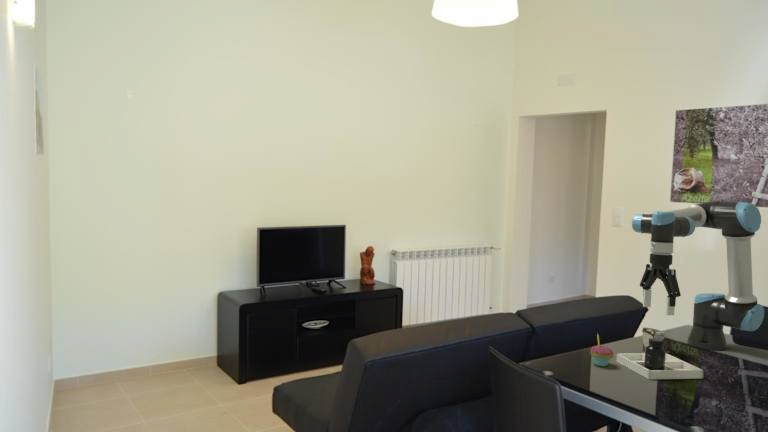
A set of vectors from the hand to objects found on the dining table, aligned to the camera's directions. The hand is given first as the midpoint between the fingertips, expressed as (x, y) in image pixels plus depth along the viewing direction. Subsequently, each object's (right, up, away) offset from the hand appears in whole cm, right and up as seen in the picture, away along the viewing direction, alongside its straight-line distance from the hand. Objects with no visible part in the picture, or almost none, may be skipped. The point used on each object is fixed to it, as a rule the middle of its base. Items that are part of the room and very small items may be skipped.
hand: (658, 310), depth 217 cm
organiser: (+2, -23, +4) cm, 23 cm away
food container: (+10, -22, +24) cm, 34 cm away
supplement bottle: (-2, -22, -2) cm, 22 cm away
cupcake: (-18, -22, +8) cm, 29 cm away
